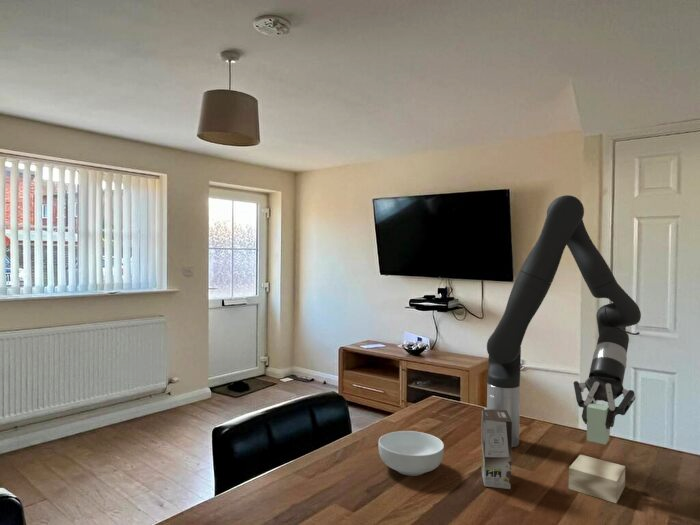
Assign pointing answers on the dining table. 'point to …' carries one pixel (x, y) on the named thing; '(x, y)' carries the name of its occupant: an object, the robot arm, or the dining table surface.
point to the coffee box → (496, 448)
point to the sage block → (597, 423)
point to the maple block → (597, 478)
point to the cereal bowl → (411, 452)
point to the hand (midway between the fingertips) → (596, 424)
